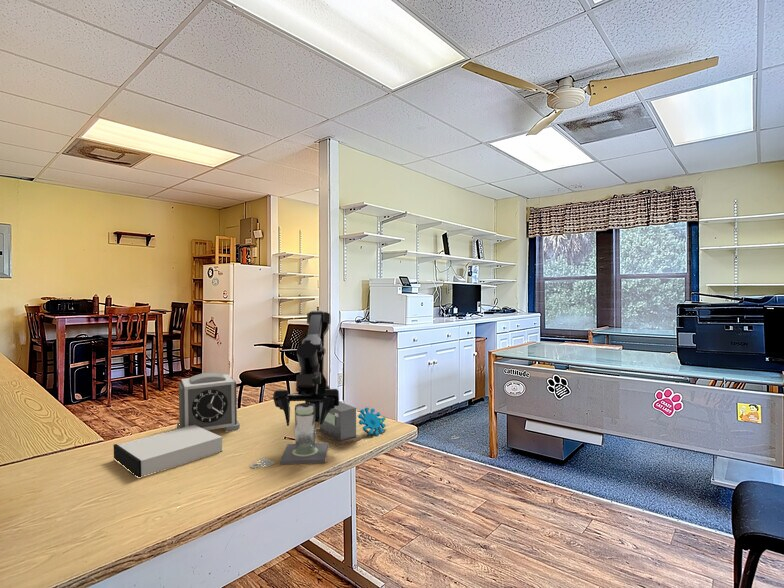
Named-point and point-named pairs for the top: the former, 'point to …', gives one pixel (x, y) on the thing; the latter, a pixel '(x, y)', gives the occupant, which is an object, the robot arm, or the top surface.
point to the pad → (294, 458)
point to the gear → (371, 421)
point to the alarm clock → (208, 402)
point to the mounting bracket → (262, 463)
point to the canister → (304, 428)
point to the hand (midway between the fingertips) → (304, 424)
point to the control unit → (339, 424)
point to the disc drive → (167, 449)
